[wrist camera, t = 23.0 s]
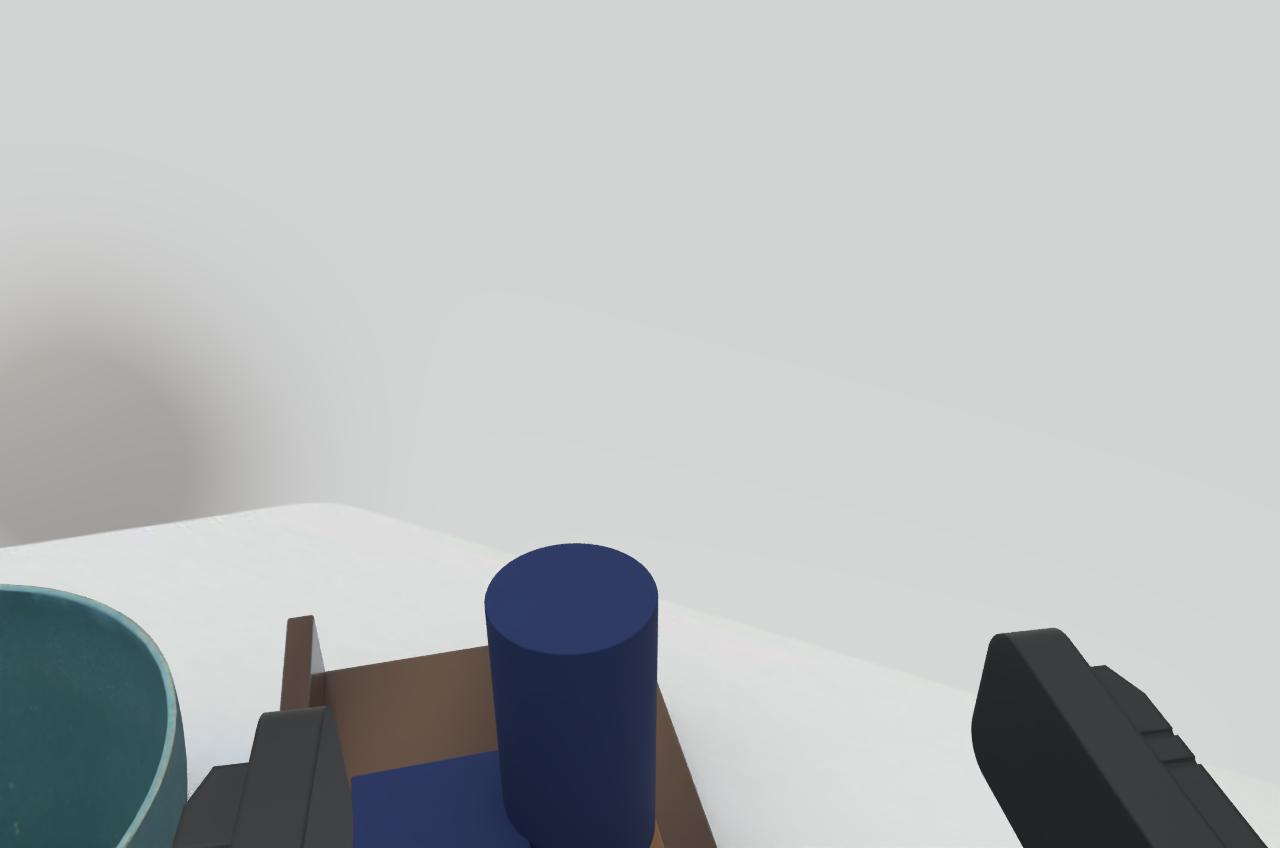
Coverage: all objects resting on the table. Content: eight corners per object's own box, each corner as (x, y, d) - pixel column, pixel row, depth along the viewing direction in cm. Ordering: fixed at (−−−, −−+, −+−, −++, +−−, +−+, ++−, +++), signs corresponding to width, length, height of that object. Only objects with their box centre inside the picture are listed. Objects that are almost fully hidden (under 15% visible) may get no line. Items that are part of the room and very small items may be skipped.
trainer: (635, 784, 36) (635, 532, 31) (671, 903, 32) (678, 637, 27) (364, 837, 34) (312, 579, 29) (365, 971, 30) (305, 699, 25)
